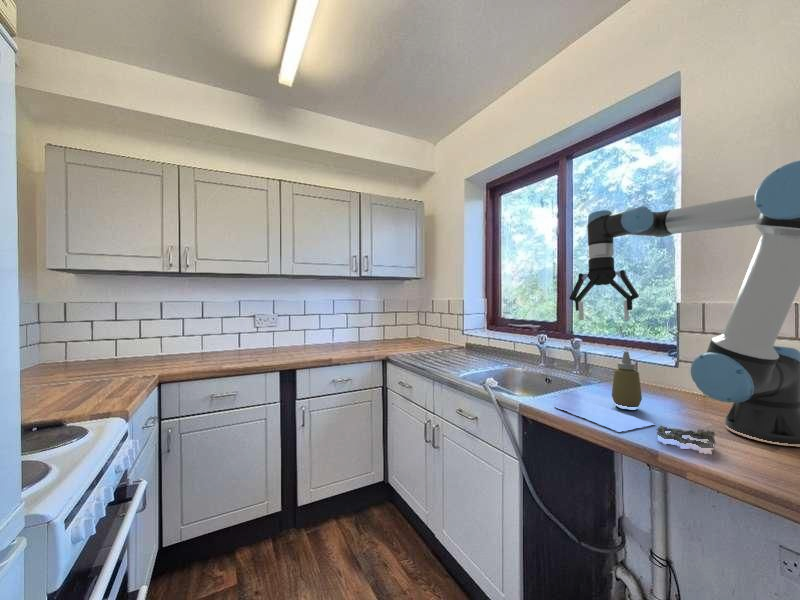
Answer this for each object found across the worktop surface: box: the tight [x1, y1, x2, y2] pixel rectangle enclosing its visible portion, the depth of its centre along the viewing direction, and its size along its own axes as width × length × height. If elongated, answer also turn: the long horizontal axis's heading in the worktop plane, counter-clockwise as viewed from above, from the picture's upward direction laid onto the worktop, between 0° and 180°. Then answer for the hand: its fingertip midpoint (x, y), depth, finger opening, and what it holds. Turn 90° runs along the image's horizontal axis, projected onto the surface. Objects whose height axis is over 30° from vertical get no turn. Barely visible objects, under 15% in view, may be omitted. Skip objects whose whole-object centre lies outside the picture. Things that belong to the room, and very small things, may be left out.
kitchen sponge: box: [656, 425, 716, 448], centre depth 83 cm, size 11×8×4 cm
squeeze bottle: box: [611, 351, 643, 408], centre depth 110 cm, size 8×8×18 cm
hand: (603, 320), depth 116 cm, fingers open, 13 cm apart
